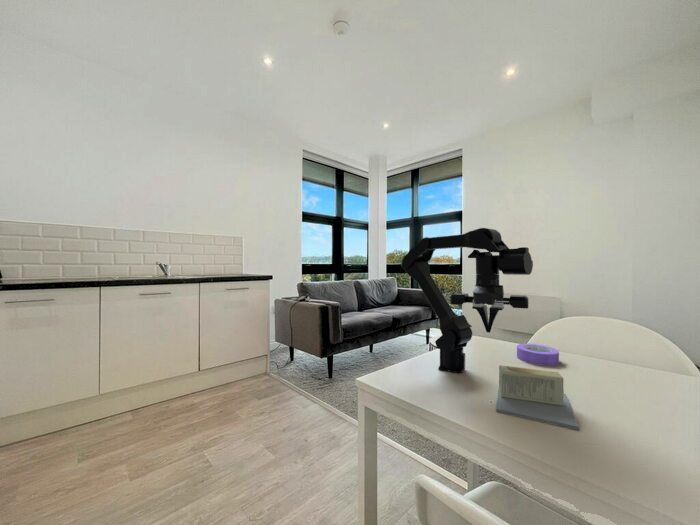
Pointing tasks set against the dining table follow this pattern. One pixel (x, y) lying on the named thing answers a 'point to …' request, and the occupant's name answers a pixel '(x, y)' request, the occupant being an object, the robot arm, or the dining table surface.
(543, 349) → the masking tape
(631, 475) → the dining table surface
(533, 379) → the skincare box
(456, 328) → the robot arm
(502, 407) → the mat
